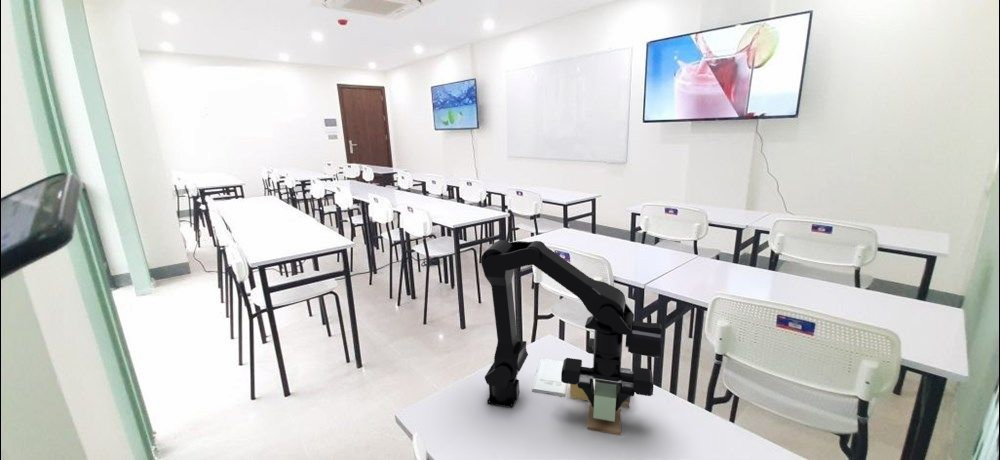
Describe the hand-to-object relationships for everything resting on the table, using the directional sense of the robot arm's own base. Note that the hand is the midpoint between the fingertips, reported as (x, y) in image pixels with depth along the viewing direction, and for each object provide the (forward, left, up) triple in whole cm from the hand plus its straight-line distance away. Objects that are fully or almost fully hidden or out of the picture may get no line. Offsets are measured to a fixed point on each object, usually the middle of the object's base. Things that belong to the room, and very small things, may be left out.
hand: (604, 407), depth 90 cm
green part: (0, 0, -1) cm, 1 cm away
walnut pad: (0, 0, -4) cm, 4 cm away
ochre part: (-6, +8, -4) cm, 11 cm away
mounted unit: (+2, +8, -4) cm, 9 cm away
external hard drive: (-14, +12, -4) cm, 19 cm away
